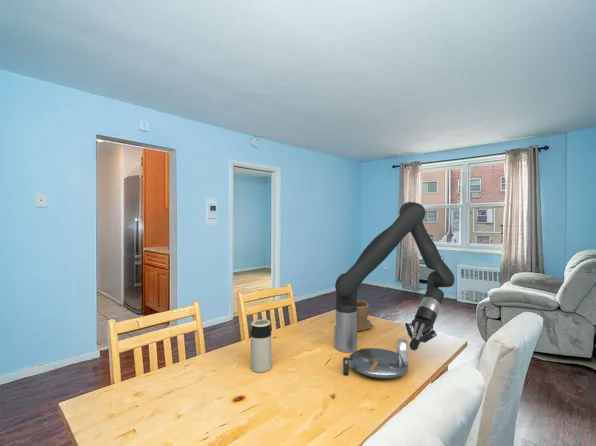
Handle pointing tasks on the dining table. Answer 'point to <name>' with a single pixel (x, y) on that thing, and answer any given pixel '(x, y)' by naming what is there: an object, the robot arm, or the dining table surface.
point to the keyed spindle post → (346, 365)
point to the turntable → (381, 361)
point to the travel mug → (261, 346)
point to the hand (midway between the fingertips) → (412, 349)
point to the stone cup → (363, 316)
